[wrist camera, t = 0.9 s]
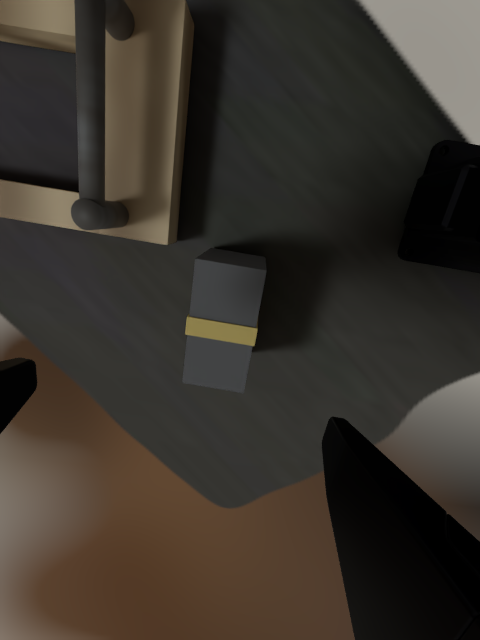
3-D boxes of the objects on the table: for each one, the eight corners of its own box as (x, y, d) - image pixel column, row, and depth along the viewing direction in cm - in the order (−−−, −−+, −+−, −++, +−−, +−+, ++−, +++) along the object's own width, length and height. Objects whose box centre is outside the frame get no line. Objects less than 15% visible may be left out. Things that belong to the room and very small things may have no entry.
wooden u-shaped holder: (194, 25, 15) (164, -63, 11) (176, 242, 19) (147, 251, 14) (-71, -18, 16) (-223, -125, 11) (-38, 206, 19) (-139, 202, 14)
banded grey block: (266, 257, 19) (268, 271, 14) (248, 354, 22) (245, 394, 17) (209, 247, 19) (193, 258, 14) (197, 345, 22) (179, 383, 17)
